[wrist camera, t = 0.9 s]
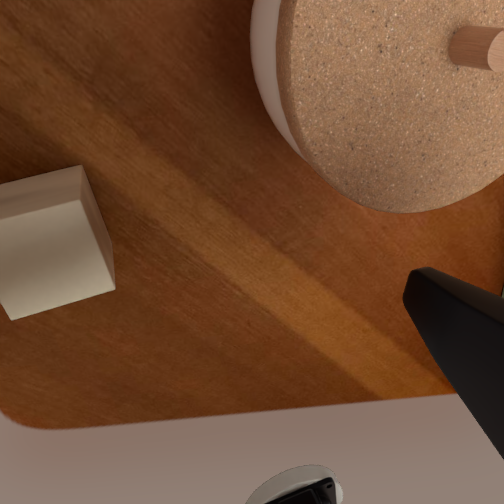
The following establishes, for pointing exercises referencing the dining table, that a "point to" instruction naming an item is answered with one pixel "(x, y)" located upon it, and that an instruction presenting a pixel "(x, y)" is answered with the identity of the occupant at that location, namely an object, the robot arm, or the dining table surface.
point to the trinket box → (387, 94)
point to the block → (52, 243)
